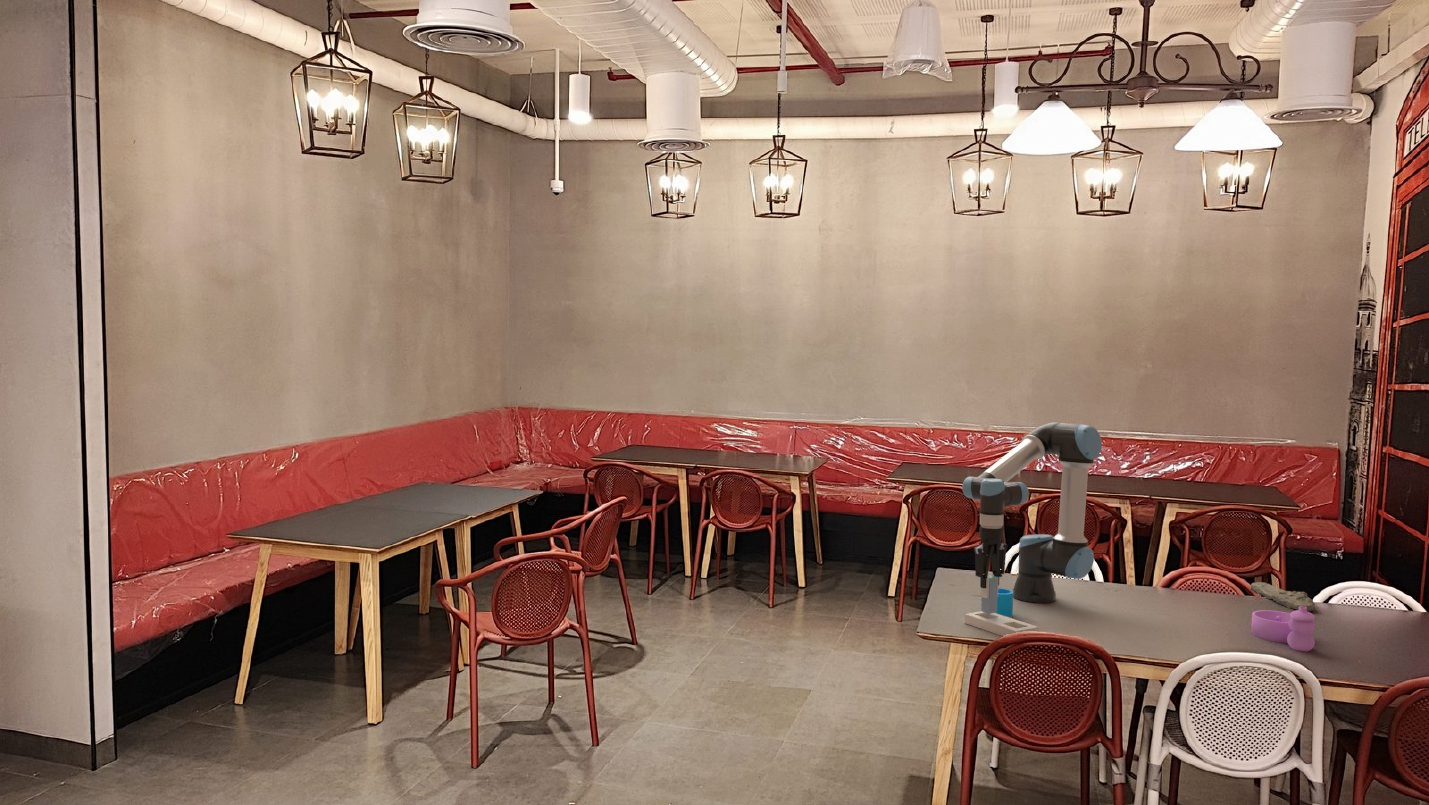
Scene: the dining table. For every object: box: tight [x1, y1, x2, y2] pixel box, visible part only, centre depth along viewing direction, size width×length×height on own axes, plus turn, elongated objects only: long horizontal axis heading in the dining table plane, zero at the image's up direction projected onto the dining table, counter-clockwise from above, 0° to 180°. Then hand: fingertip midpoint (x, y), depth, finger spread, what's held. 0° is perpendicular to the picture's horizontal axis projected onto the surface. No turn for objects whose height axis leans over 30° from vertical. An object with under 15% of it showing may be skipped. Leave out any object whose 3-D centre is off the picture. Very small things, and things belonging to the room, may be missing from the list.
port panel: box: [964, 610, 1039, 637], centre depth 331 cm, size 22×10×3 cm, turn 31°
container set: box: [1250, 606, 1316, 652], centre depth 324 cm, size 25×15×13 cm, turn 178°
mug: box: [997, 587, 1014, 618], centre depth 350 cm, size 12×8×8 cm
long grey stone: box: [1250, 581, 1315, 612], centre depth 375 cm, size 35×5×10 cm
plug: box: [980, 574, 999, 614], centre depth 335 cm, size 4×4×12 cm
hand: (989, 596), depth 335 cm, fingers closed on plug, 3 cm apart
